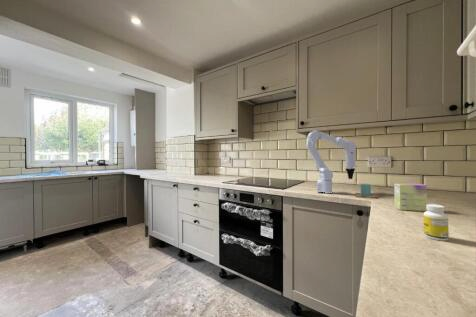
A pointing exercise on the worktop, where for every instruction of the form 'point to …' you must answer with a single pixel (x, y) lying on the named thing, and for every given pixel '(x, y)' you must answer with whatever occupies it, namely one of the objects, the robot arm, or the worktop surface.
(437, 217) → the supplement bottle
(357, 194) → the post board
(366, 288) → the worktop surface
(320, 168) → the robot arm
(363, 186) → the teal rectangular block
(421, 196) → the box
